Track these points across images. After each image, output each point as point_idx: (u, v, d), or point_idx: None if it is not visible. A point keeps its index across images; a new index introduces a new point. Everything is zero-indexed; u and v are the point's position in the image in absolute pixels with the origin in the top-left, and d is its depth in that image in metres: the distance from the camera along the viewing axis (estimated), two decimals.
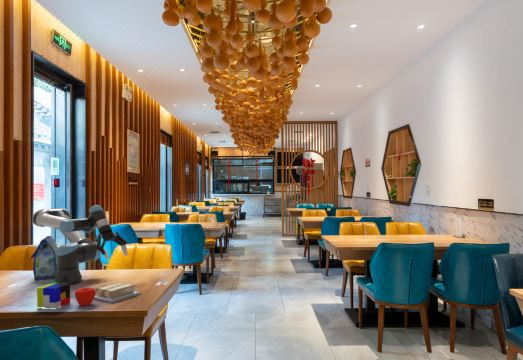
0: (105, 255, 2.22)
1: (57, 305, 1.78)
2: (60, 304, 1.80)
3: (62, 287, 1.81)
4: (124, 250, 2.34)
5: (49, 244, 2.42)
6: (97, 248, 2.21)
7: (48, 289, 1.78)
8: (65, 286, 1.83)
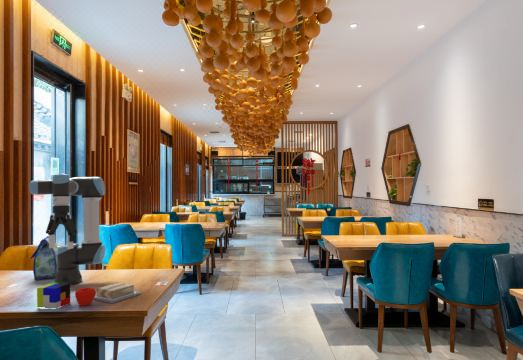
0: None
1: (57, 305, 1.78)
2: (60, 304, 1.80)
3: (62, 287, 1.81)
4: None
5: None
6: None
7: (48, 289, 1.78)
8: (65, 286, 1.83)
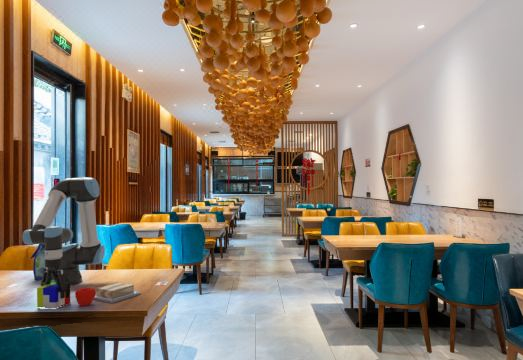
0: None
1: (57, 305, 1.78)
2: None
3: None
4: None
5: None
6: None
7: (48, 289, 1.78)
8: None
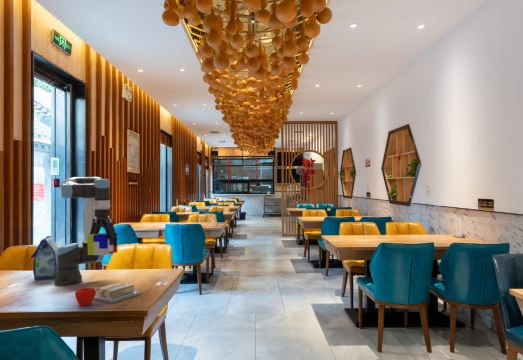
0: None
1: (106, 251, 1.90)
2: None
3: None
4: None
5: (49, 244, 2.42)
6: None
7: (98, 236, 1.90)
8: None
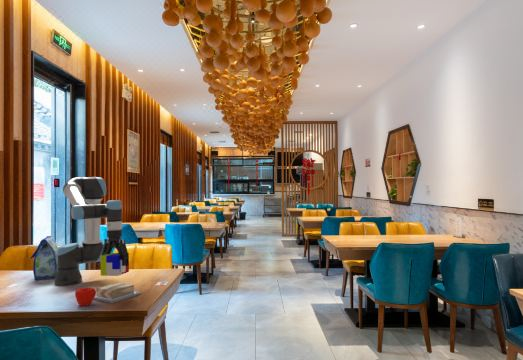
0: None
1: (119, 272, 1.93)
2: None
3: None
4: None
5: (49, 244, 2.42)
6: None
7: (111, 257, 1.92)
8: None
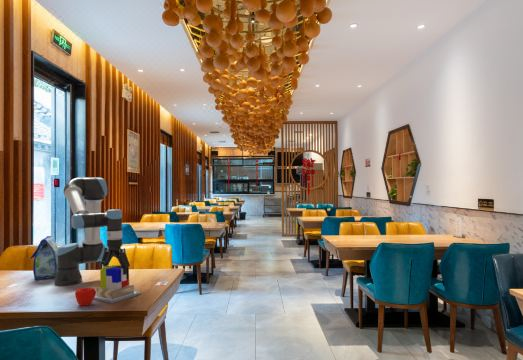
0: None
1: (119, 285, 1.93)
2: (121, 284, 1.94)
3: None
4: None
5: (49, 244, 2.42)
6: None
7: (111, 270, 1.92)
8: None
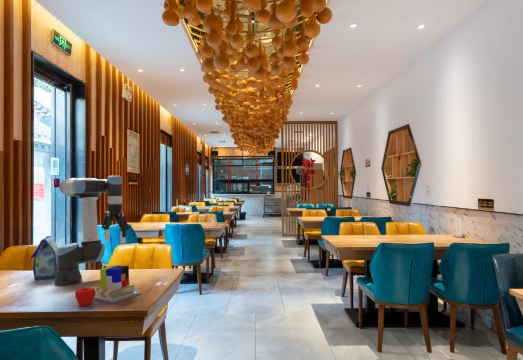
0: None
1: (119, 285, 1.93)
2: (121, 284, 1.94)
3: (122, 269, 1.96)
4: None
5: (49, 244, 2.42)
6: None
7: (111, 270, 1.92)
8: (125, 268, 1.98)
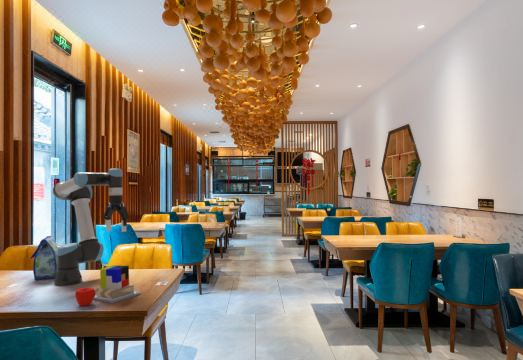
0: None
1: (119, 285, 1.93)
2: (121, 284, 1.94)
3: (122, 269, 1.96)
4: None
5: (49, 244, 2.42)
6: None
7: (111, 270, 1.92)
8: (125, 268, 1.98)
